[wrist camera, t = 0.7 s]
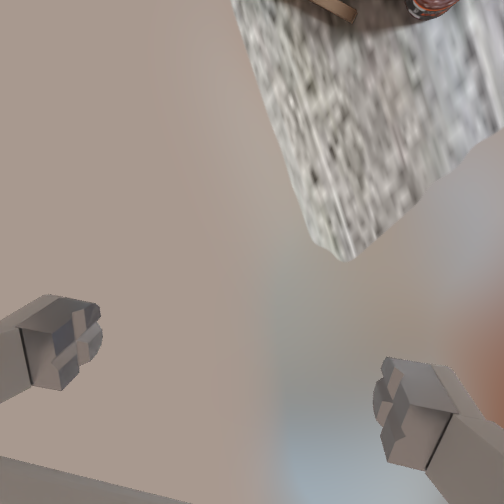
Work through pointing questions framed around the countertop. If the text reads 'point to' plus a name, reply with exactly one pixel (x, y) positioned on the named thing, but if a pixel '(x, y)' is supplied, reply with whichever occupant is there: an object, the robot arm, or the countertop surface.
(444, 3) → the supplement bottle
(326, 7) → the walnut bay
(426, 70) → the countertop surface
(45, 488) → the robot arm
